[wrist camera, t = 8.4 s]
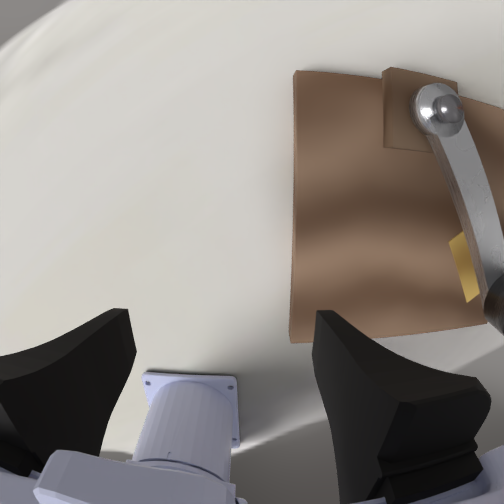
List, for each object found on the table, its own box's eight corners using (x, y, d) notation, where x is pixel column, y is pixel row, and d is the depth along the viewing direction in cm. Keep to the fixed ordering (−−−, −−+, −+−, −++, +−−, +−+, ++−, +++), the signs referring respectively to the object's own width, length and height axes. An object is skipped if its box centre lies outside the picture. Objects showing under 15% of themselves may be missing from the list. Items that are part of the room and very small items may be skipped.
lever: (394, 100, 15) (449, 84, 10) (440, 77, 15) (499, 60, 9) (477, 324, 20) (519, 363, 14) (511, 295, 19) (555, 328, 14)
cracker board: (478, 315, 24) (496, 331, 21) (288, 332, 24) (293, 355, 21) (503, 108, 18) (526, 107, 15) (292, 68, 18) (299, 56, 15)
